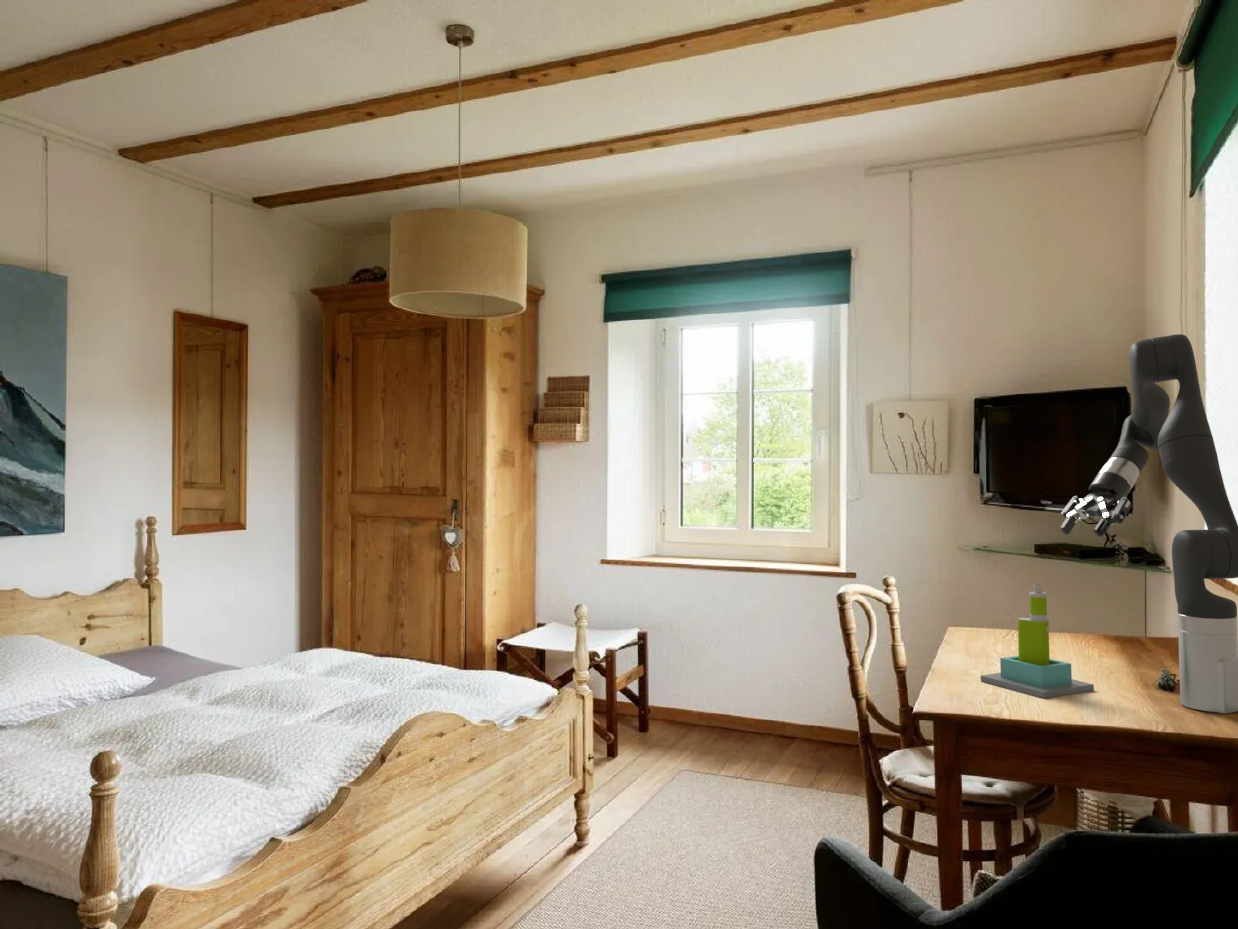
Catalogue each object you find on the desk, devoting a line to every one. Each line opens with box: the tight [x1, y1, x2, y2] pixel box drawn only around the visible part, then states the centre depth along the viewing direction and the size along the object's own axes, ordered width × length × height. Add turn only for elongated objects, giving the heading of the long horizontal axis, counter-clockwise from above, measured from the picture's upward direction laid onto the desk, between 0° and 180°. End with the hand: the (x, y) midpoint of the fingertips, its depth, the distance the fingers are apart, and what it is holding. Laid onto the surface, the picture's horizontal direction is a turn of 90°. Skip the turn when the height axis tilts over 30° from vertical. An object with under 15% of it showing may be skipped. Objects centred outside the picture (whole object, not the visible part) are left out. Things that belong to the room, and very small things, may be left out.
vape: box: [1017, 583, 1051, 666], centre depth 179 cm, size 4×6×20 cm, turn 52°
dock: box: [980, 655, 1095, 699], centre depth 179 cm, size 16×14×5 cm
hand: (1080, 533), depth 193 cm, fingers open, 8 cm apart
